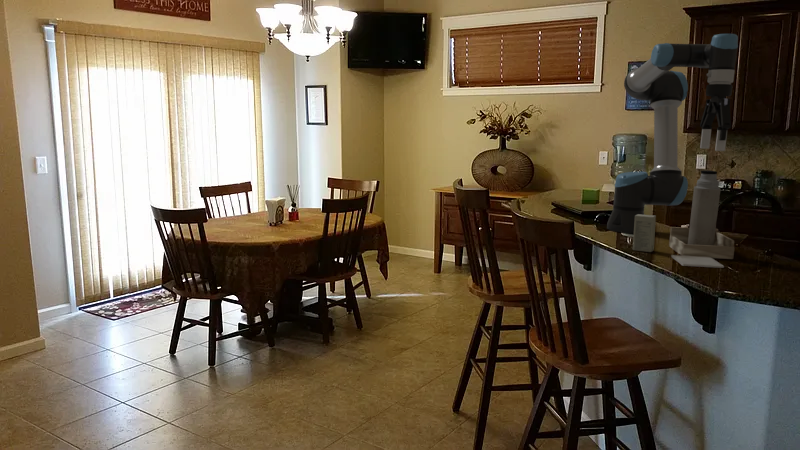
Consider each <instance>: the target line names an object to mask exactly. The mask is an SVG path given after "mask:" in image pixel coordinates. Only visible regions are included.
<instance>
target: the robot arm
mask: <svg viewBox="0 0 800 450" xmlns="http://www.w3.org/2000/svg"><path fill="white" fill-rule="evenodd" d="M738 40H739V36H738V35H737V33H719V34H713V36H712V37H711V41H710V43H708V44H707V43H704V44H703V43H669V42H668V43H667V42H665V43H657V44H655V45H654V47H653V48H652V50H651V55H650V58H649V59H648V60H646V62H644V63H643V64H642V65H640V66H639V67H635V68H633V69H632V70H630V71H629V72H628V73H627V74H626V76H625V78H624V82H623V86H624V90H625V91H626V93H627V95H629V96H630V97H632V98H634V99H636V100H640V101H649V104H650V107H651V108H652V109H653V111H654V112H653V113H654V114H653V116H654V117H653V118H654V119H653V123H654V124H653V125H654V127H653V128H654V129H653V140H654V141H653V146H654V148H653V152H654V153H653V168H652V169H651V170H650V171H649V174H648V172H647V171H626V172H621V173H619V174H617V176H616V178H615V182H614V194H613V206H612V207H613V208H612V211H611V214H610V216H609V217H608V221H607V223H606V229H607V230H609V231H612V232H617V233H626V234H634V221H635V215H637V214H642V215H645V205H647V206H650V205H652V206H668V207H669V206H678V205H680V204H681V203H683V201H684V200H685V198H686V196H687V194H688V187H689V181H688V179H687V177H686V176H685V175H683V174H682V172H683V171H682V169H680V168H679V166H678V145H679V144H678V123H679V122H678V115H679V114H678V112H679V111H678V109H679V107H680V106H681V105H682V104H683V103H682V101H684V100H685V99H687V95H688V90H689V85H688V84H689V83H688V79H687V76H686V75H685V74H684V73H683V72H681V71H675V70H671V69H673V68H700V69H708V73H706V77H707V83H708V84H706V89H705V90H706V91H705V96H706V97H710V99H709V98H708V99H707V98H706V99H705V100H706V101H705V107H704V111H703V113H702V117H701V120H700V124H699V126H700V128H701V135H700V136H701V138H700V146H699V147H700V149H704V150H705V149H709V150H710V147H711V146H710V145H711V138H712V137H711V135H712V129H713V122H714V120H715V117H716V121H717V125H718V127H717V128H716V131H717V132H716V140H715V149H714V150H715V152H726V147H727V146H726V145H727V137H728V131H729V129H731V128H732V118H731V115H732V114H731V99H730V98H727V97H731V96H732V94H733V85H732V84H733V83H734V79H735V73H736V72H735V71H736V70H735V69H736V60H737V53H738V48H739V45H738V44H739V43H738V42H739V41H738Z"/></svg>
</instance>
